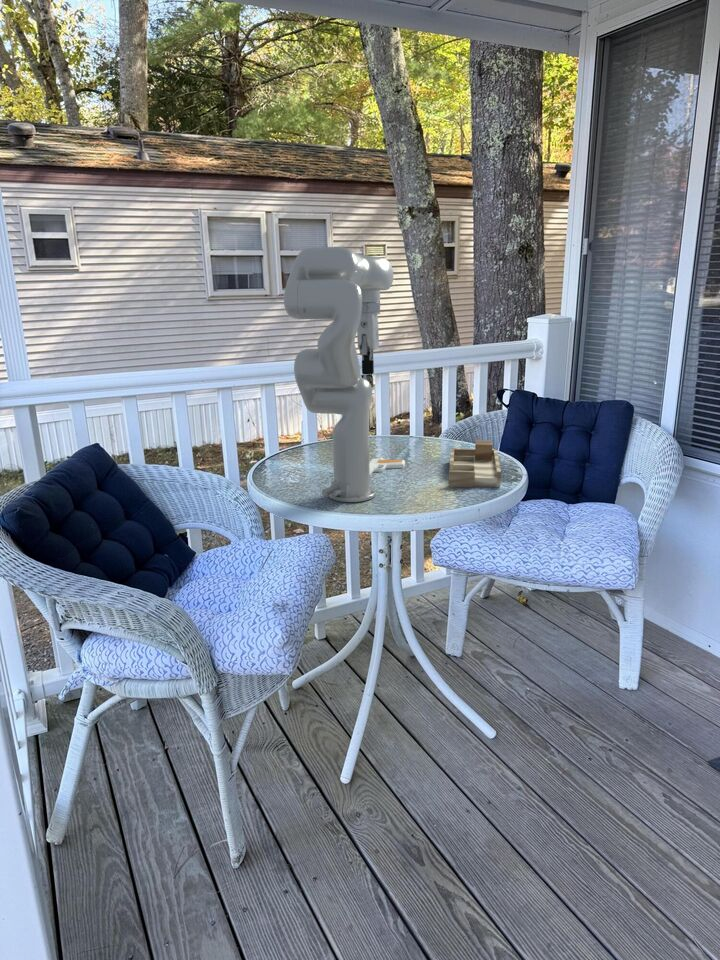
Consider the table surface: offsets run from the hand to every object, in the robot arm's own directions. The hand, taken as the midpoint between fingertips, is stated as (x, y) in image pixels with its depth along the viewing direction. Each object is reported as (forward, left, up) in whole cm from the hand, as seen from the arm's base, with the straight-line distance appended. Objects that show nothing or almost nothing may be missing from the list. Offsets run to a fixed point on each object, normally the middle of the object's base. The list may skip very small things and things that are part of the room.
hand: (367, 373), depth 186 cm
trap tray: (+15, -28, -29) cm, 43 cm away
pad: (+24, -26, -29) cm, 45 cm away
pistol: (0, -4, -30) cm, 30 cm away
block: (+23, -26, -26) cm, 44 cm away
